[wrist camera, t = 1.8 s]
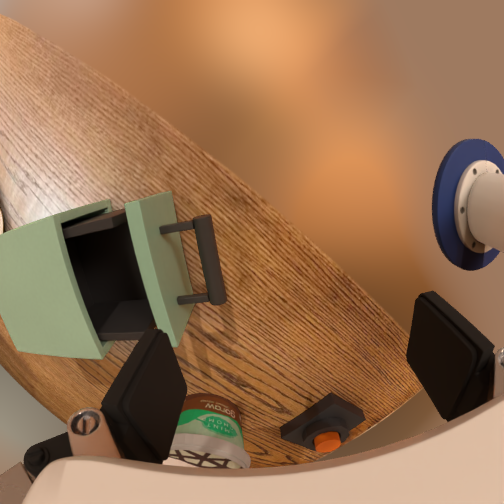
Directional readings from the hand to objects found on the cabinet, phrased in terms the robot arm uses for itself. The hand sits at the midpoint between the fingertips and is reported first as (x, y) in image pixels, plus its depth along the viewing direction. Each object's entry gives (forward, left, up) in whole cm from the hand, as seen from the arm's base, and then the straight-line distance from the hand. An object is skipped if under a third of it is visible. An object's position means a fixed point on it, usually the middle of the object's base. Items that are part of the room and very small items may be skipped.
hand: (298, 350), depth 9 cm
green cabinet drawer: (+12, 0, -17) cm, 21 cm away
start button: (-5, +29, -14) cm, 33 cm away
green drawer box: (+22, 0, -18) cm, 28 cm away
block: (-5, +29, -18) cm, 34 cm away
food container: (+10, +22, -18) cm, 30 cm away
